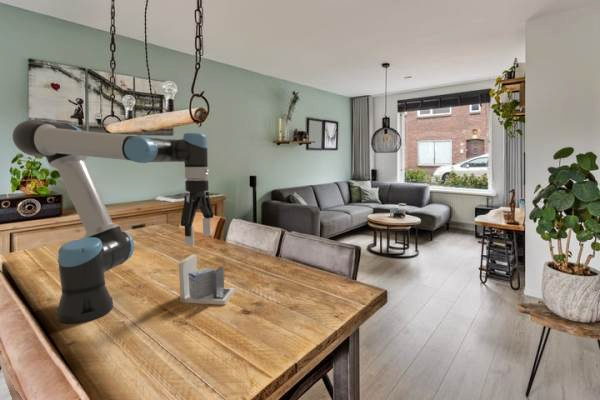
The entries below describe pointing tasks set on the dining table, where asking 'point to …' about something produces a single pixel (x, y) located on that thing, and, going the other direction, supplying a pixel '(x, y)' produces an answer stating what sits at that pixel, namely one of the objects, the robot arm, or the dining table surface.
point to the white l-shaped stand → (184, 270)
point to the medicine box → (201, 283)
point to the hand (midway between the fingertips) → (199, 240)
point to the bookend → (219, 284)
